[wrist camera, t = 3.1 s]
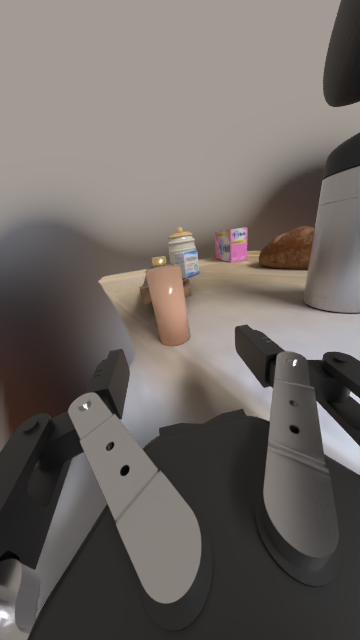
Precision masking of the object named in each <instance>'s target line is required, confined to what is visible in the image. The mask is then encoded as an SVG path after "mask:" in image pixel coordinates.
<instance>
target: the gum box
mask: <svg viewBox="0 0 360 640" xmlns="http://www.w3.org/2000/svg"><path fill="white" fill-rule="evenodd" d="M215 244H216V258H217V259H220V260H224V261H227V262H237V261H243V260H247V227H244V228H238V229H232V230H226V231H220V232H215Z"/></svg>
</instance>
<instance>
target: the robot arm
mask: <svg viewBox="0 0 360 640" xmlns="http://www.w3.org/2000/svg"><path fill="white" fill-rule="evenodd" d="M323 90H324V96H325V100H326V102H327V103H328V104H329V105H330V106H333V107H340V106H346V105H350V104H353V103H356V102H359V101H360V0H341V3H340V6H339V10H338V13H337V17H336V20H335V24H334V27H333V31H332V35H331V39H330V43H329V48H328V52H327V56H326V62H325V68H324V77H323ZM303 301H304V302H305V303H306V304H307V305H310V306H312V307H315V308H318V309H322V310H327V311H333V312H345V313H359V312H360V133H358V134H356V135H355V136H353V137H351V138H350V139H348V140H347V141H345V142H343V143H342V144H341V145H339V146H338V147H337V148H336V149H335V150H333V152H331V154H330V155H329V156H328V159H327V161H326V165H325V170H324V176H323V182H322V188H321V194H320V200H319V207H318V213H317V219H316V225H315V231H314V237H313V243H312V249H311V255H310V261H309V267H308V274H307V280H306V286H305V292H304V299H303ZM235 347H236V351H237V353H238V354H239V356H240V357H241V358H242V360H243V361H244V362H245V364H246V365H247V366H248V368H249V369H250V370H251V372H252V373H253V374H254V375H255V377H256V378H257V379H258V381H259V382H260V383H261V385H262V386H263V387H264V388H265V387H269V386H271V387H272V388H273V394H272V404H271V413H270V422H269V421H267V420H264V419H261V418H258V417H253V416H246V414H245V412H244V410H243V409H240V410H236V411H232V412H227V413H223V414H221V415H219V416H217V417H215V418H213V419H211V420H210V421H208V422H206V423H203V424H188V423H179V424H175V425H171V426H166V427H162V428H159V433H160V436H158V437H156V438H155V439H153V440H152V441H151V442H150V443H148V444H147V445H146V446H145V447H144V448H143V449H142V448H141V447H140V446H139V444H138V443H137V442H136V440H135V439H134V438H133V437H132V435H131V434H130V433H129V431H128V430H127V429H126V427H125V426H124V425H123V424H122V422H121V421H120V420H119V419H122V414H123V408H124V403H125V397H126V392H127V387H128V381H129V375H130V372H129V367H128V364H127V361H126V358H125V355H124V352H123V350H122V349H119V350H114V351H110V353H109V355H108V358H107V359H106V360H103V361H102V362H101V363H100V364H99V365H98V366H97V369H96V371H95V373H94V375H93V378H92V380H91V382H90V384H89V386H88V388H87V390H86V392H85V394H84V395H82V396H80V397H79V398H77V399H76V400H75V401H74V402H73V403H72V404H71V405H70V407H69V410H68V411H67V412H64V413H62V414H60V415H58V416H56V417H54V418H50V416H49V415H48V414H46V413H40V414H37V415H34V416H33V417H31V418H29V419H27V420H26V421H25V422H23V423H22V424H21V425H20V426H19V427H18V428H17V429H16V431H15V432H14V433H13V435H12V436H11V437H10V439H9V440H8V442H7V443H6V445H5V446H4V448H3V449H2V451H1V452H0V640H360V475H358V474H356V473H355V472H353V471H351V470H350V469H348V468H346V467H345V466H343V465H341V464H340V463H338V462H336V461H335V460H333V459H331V458H330V457H328V456H326V455H325V454H324V452H323V445H322V438H321V431H320V424H319V417H318V410H317V403H316V401H317V402H318V403H319V404H320V405H321V406H322V407H323V408H324V409H325V410H326V411H327V412H328V413H329V414H330V415H331V416H332V417H333V418H334V419H335V420H336V422H337V423H338V424H339V425H340V426H341V427H342V428H343V429H344V430H345V431H346V432H347V433H348V434H349V435H350V436H351V437H352V438H353V439H354V440H355V442H356V443H357V444H358V445H359V446H360V404H359V403H358V402H356V401H355V400H354V399H353V398H352V397H350V396H349V394H350V392H353V393H354V394H355V395H356V396H358V397H359V398H360V361H359V360H357V359H355V358H354V357H352V356H350V355H347V354H344V353H340V352H327V353H325V354H324V355H323V359H322V360H306V358H305V357H303V356H302V355H300V354H298V353H295V352H288V351H286V352H285V351H284V350H283V349H282V348H281V347H279V346H278V345H277V344H276V343H275V342H273V341H272V340H271V339H270V338H268V337H267V336H266V335H265V334H264V333H262V332H260V331H257V330H253V329H252V328H250V327H249V326H248V325H242V326H237V327H236V328H235ZM82 452H85V454H86V457H87V459H88V461H89V463H90V466H91V468H92V470H93V472H94V475H95V477H96V479H97V481H98V483H99V486H100V488H101V490H102V492H103V495H104V497H105V499H106V501H107V505H106V507H105V508H104V510H103V511H102V513H101V515H100V516H99V518H98V519H97V521H96V523H95V524H94V526H93V527H92V529H91V530H90V532H89V534H88V535H87V537H86V538H85V540H84V542H83V543H82V545H81V546H80V548H79V550H78V551H77V553H76V554H75V556H74V557H73V559H72V561H71V562H70V564H69V565H68V567H67V569H66V570H65V572H64V573H63V575H62V577H61V578H60V580H59V581H58V583H57V584H56V586H55V588H54V589H53V591H52V592H51V594H50V596H49V597H48V599H47V601H46V602H45V604H44V606H43V608H42V609H41V611H40V613H39V615H38V617H37V619H36V612H37V603H38V598H39V593H40V577H39V574H38V573H37V572H36V571H35V569H36V566H37V563H38V560H39V557H40V554H41V551H42V548H43V545H44V542H45V539H46V536H47V533H48V530H49V526H50V523H51V520H52V517H53V514H54V511H55V508H56V505H57V502H58V499H59V496H60V493H61V490H62V487H63V484H64V481H65V478H66V475H67V472H68V469H69V466H70V463H71V460H72V458H73V457H75V456H77V455H79V454H80V453H82ZM35 466H36V467H35ZM34 468H35V469H34ZM33 470H34V472H33ZM32 472H33V474H32ZM31 474H32V476H31ZM30 476H31V478H30ZM29 478H30V480H29ZM28 481H29V482H28Z"/></svg>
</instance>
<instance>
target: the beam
mask: <svg viewBox="0 0 360 640" xmlns="http://www.w3.org/2000/svg"><path fill="white" fill-rule="evenodd" d="M168 265H174V264H168ZM168 265H167V266H168ZM152 268H154V267H151V268H146V270H149V269H152ZM182 281H183V288H184V295H185V297H187V296H191V292H190V283H189V279H186V280H185V279H184V278H183V277H182ZM140 291H141V295H142V299H143V303H144V304H149V303H152V299H151V295H150V291H149V286H148V282H147V277H145V281H144V285H143V287H140Z"/></svg>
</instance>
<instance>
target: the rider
mask: <svg viewBox="0 0 360 640" xmlns="http://www.w3.org/2000/svg"><path fill="white" fill-rule="evenodd" d="M145 273H146V277H147V282H148V286H149V291H150V295H151V299H152V304H153V308H154V313H155V317H156V322H157V326H158V330H159V335H160V339H161V342H162V343H163V344H164V345H167V346H177V345H181V344H183V343H185V342H187V341H188V340H189V339H190V330H189V323H188V316H187V309H186V302H185V295H184V288H183V281H182V273H181V266H180V265H168V266H162V267H156V268H152V269H149V270H147V271H145Z"/></svg>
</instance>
